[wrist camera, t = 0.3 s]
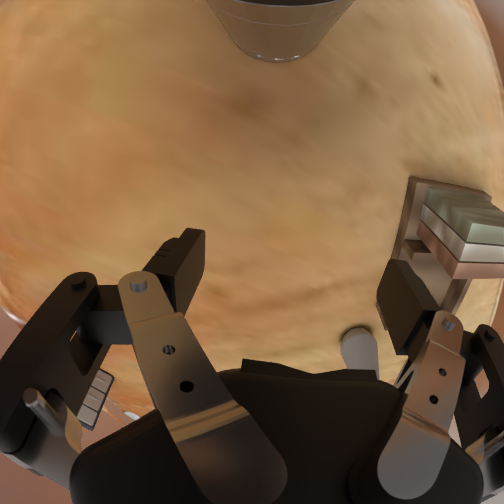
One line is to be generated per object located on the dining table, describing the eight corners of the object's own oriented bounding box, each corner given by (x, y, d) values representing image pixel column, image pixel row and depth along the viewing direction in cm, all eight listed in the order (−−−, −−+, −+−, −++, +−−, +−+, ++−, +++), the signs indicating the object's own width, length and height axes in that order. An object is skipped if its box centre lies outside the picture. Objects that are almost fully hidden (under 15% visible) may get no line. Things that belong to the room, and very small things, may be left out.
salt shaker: (377, 337, 40) (396, 405, 29) (346, 352, 42) (358, 419, 31) (365, 317, 38) (386, 390, 27) (332, 334, 40) (344, 407, 29)
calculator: (115, 376, 53) (93, 428, 41) (112, 382, 55) (92, 431, 43) (75, 352, 51) (49, 402, 38) (75, 360, 53) (50, 407, 40)
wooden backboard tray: (409, 176, 27) (461, 217, 17) (483, 191, 26) (534, 229, 17) (375, 305, 37) (396, 366, 27) (443, 303, 36) (471, 353, 26)
